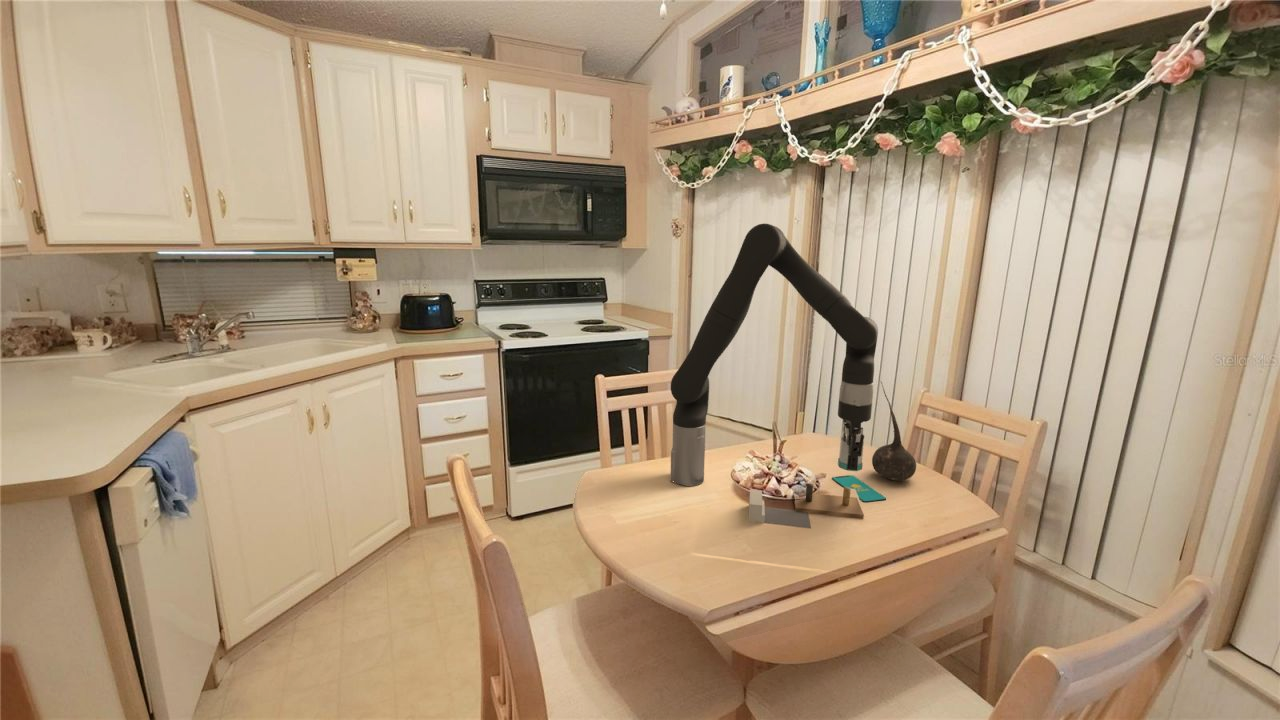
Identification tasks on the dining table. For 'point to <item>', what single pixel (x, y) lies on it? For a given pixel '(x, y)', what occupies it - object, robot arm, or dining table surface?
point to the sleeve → (844, 456)
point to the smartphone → (859, 488)
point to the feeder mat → (774, 513)
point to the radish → (894, 457)
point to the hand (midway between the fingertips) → (849, 464)
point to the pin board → (829, 504)
